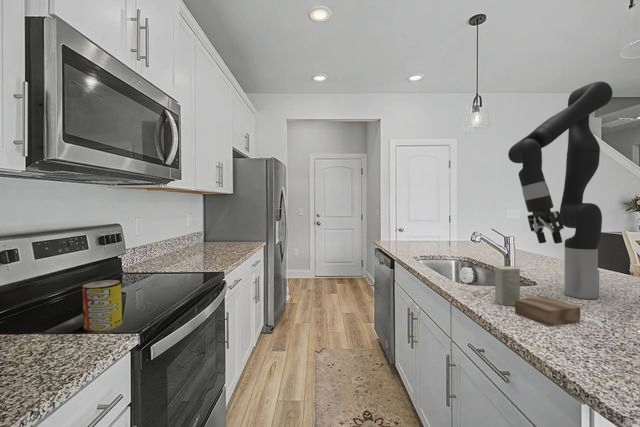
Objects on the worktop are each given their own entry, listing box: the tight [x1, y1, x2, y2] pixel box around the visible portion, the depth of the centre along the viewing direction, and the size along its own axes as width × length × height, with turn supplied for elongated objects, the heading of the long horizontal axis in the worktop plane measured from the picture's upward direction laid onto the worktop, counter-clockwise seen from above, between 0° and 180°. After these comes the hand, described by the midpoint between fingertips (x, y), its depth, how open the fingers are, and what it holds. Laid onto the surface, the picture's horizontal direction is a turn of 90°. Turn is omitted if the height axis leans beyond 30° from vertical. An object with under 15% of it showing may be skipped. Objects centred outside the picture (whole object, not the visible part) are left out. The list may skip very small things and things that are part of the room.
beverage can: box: [82, 279, 123, 333], centre depth 91 cm, size 9×9×12 cm
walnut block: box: [514, 296, 581, 327], centre depth 94 cm, size 11×11×4 cm
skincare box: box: [494, 265, 521, 306], centre depth 107 cm, size 6×4×12 cm
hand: (550, 243), depth 109 cm, fingers open, 8 cm apart
